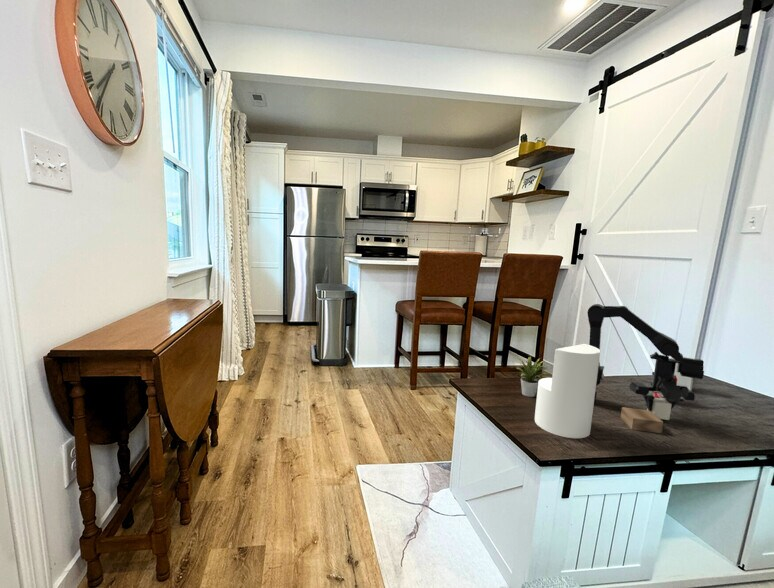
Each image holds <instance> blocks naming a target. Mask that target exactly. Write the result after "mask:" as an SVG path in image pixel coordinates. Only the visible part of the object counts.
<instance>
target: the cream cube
mask: <svg viewBox="0 0 774 588" xmlns="http://www.w3.org/2000/svg"><path fill="white" fill-rule="evenodd" d="M671 405H672V404H671V403H669V402H668V401H666V400H665V399H662V398H654V399H653V405H652V413H653V414H654V415H655V416H657V417H658V418H659V419H660V420H667V421H670V419H671V417H670V416H671V411H672V410H671ZM646 410H648V408H646Z"/></svg>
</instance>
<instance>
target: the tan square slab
mask: <svg viewBox="0 0 774 588" xmlns="http://www.w3.org/2000/svg"><path fill="white" fill-rule="evenodd" d="M620 412H621V413H620V418H621V419H622V421H623V422H624V423H626V425H627V426H628V427H629V428H630V429H631V430H636V431H641V432H643V431H644V432H648V433H649V432H650V433H656V434H662V432H663V427H664V421H663V420H662V419H659V418H658V417H657V416H655V415H654V414H653V413H652V412H651V411H649V410H647V409H639V408H631V407H624V406H622V407H621V411H620Z"/></svg>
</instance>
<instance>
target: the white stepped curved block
mask: <svg viewBox="0 0 774 588" xmlns="http://www.w3.org/2000/svg"><path fill="white" fill-rule="evenodd" d="M600 357H601V349H600V350H599V349H598V348H596V347H593V346H591V345H589V344H587V343H580V344H576V345H572V346H571V345H570V346H565V347H559V348H555V350H554V358H553V368H552V377H543V378H541V379H540V378H539V379H538V387H537V390H536V401H535V411H534V422H535V424H536V425H537V427H540V429H542V430H544V431H546V432H548V433H551V434H552V435H555V436H560V437H563V438H568V439H583V438H588V437H589V436H590V435H591V429H592V428H591V427H592V421H593V412H594V405H595V404H594V398H595V390H596V391H597V388H596V387H597V386H596V382H597V374H598V366H599V362H600Z"/></svg>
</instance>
